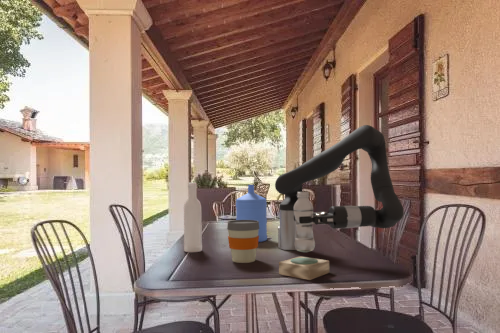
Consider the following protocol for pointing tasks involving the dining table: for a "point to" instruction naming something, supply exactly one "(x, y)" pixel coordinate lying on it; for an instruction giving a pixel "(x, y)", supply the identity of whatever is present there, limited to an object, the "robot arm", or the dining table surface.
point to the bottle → (192, 221)
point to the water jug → (253, 211)
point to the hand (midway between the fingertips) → (296, 219)
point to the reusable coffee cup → (243, 240)
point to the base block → (304, 267)
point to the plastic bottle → (303, 231)
